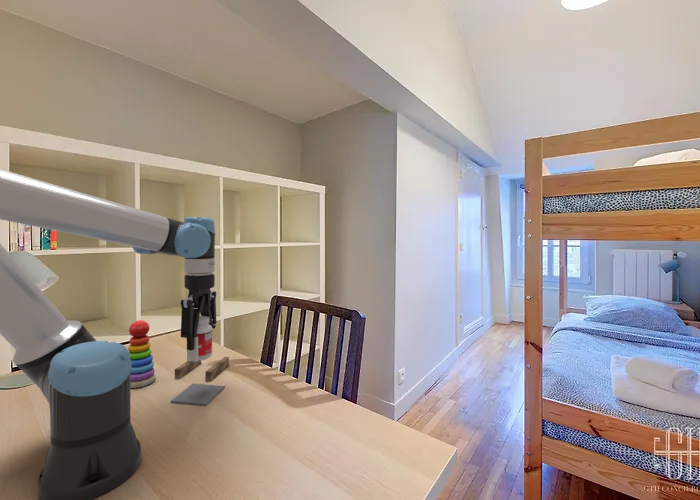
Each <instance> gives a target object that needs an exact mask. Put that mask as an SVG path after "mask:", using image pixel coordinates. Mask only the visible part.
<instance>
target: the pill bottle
mask: <svg viewBox="0 0 700 500" xmlns="http://www.w3.org/2000/svg"><path fill="white" fill-rule="evenodd" d="M208 323H209V317H207V316H201V315H200V316H199V322H198V328H197V334H196V337H198V361H201V362H202V361H205V360H208V359H209V358H211V357H212V355H213V328H212V326H211V325H209V324H208Z"/></svg>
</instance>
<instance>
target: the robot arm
mask: <svg viewBox="0 0 700 500" xmlns="http://www.w3.org/2000/svg"><path fill="white" fill-rule="evenodd" d="M0 220H2V221H7V222H12V223H17V224H20V225H21V224H22V225H27V226H31V227H34V228H35V227H36V228H41V229H46V230H51V231H54V232H55V231H56V232H61V233H66V234H70V235H74V236H75V235H76V236H80V237H84V238H90V239H95V240H100V241H104V242H109V243H113V244H114V243H115V244H119V245H124V246H128V247H129V246H130V247H132V250H133V251H134V252H135V253H136V254H139V255H140V254H141V255H142V254H143V255H153V254H154V255H155V254H157V255H158V254H159V255H167V256H174V257H181V258H184V265H183V267H184V270H183V272H184V273H185V275H184V289H187V290H188V295H187V298H186V299H181V300H180V306H181V317H180V319H181V321H180V338H185V339H186V352H187V353H186V362H187V361H194V362H197V361H198V337H196V334H197V328H198V322H199V316H207V317H209V323H208V324H209V325H211V326H212V330H213V329H214V330H215V329H216V327H217V326H216V324H217V304H216V303H217V301H216V300H217V299H216V298H217V291H213V290H211V289H212V288H215V283H216V282H215V279H216V278H215V274H214V273H215V265H216V261H215V255H216V254H215V252H216V250H215V248H216V247H215V246H216V245H215V244H216V243H215V242H216V241H215V240H216V238H215V237H216V229H215V221H214V219H213V218H211V217H204V216H203V217H201V216H200V217H199V216H198V217H197V216H186V217H185V218H184V220H183V221H180V220H177V219H173V218H168V217H166V216H163V215H160V214H157V213H153V212H150V211H145V210H142V209H139V208H135V207H133V206H128V205H125V204H122V203H119V202H115V201H112V200H109V199H105V198H102V197H97V196H95V195H91V194H87V193H84V192H81V191H78V190H74V189H71V188H69V187H68V188H67V187H63V186H60V185H58V184H57V185H56V184H54V183H50V182H47V181H43V180H39V179H36V178H33V177H29V176H27V175H24V174H23V175H22V174H19V173H16V172H13V171H9V170H6V169H2V168H0ZM0 336H2V337H3V338H4V339H5V340H6V341H7V343H8V344H10V345H11V346H12V347H13V348H14V349H15V352H14V355H13V359H12V362H13V363H14V365H15V366H17V367H18V369H20V370H21V372H23V373H24V374H25V376H27V378H29V379H30V380H31V381H32V382H33V383H34V384H35V385H36V386H37V387H38V388H39V390H40V391H41V392H42V394H43V396H44V398H45V399H46V401H47V402H48V405H49V406H48V407H49V419H50V420H49V421H50V423H49V424H50V432H49V434H50V446H49V449H48V450H47V451H48V452H47V454H46V457H45V460H44V464H43V468H42V469H41V470H40V472H39V475H38V478H37V498H38V499H39V500H93V499H94V498H97V497H100V496H102V495H104V494H106V493H108V492H109V491H112V490H113V489H115V488H117V487H118V486H120V485H121V484H122V483H124V482H125V481H126V480H127V479H129V478H130V477H131V476H132V475H133V474H134V473H135V472H136V470H138V468H139V466H140V464H141V463H142V444H141V442H140V440H139V439H138V438H137V435H136V432H135V429H134V427H133V424H132V422H131V421H132V420H131V394H132V393H131V389H132V388H131V367H132V364H131V360H130V354H129V350H128V347H127V346H125V345H123V344H122V343H119V342H115V341H110V342H108V341H106V340H97V339H96V338H94V336H93V335H92V334H91V332H90V331H89V330H88V329H87V328H86V326H84V325H83V323H82V322H81V321H79V320H68V319H67V318H65V316H64V315H63V314H62V313H61V311H59V309H58V308H57V307H56V306H55V305H54V304H53V302H52V301H51V300H50V298H48V297H47V296H46V294H45V293H44V292H43V291H42V290H41V288H40V287H39V286H38V285H37V284H36V283H35V282H34V280H33V279H32V278H31V277H30V276H29V274H28V273H27V272H26V271H25V270H24V268H22V267H21V266H20V264H19V263H18V262H17V261H16V260H15V258H14V257H13V256H12V255H11V254H10V253H9V252H8V250H7V249H6V248H5V247H4V246H3V245H2V243H0Z"/></svg>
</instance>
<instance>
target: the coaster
mask: <svg viewBox="0 0 700 500" xmlns="http://www.w3.org/2000/svg"><path fill="white" fill-rule="evenodd" d="M225 388H226V386H224V385H214V384H204V383H203V384H202V383H192V384H190V385H189V386H188V387H187V388H184V390H183V391H182V392H180V393H179V394H177V395H176V396H175V397H174V398H173V399H171V400H170V404H171V403H172V404H181V405H183V404H184V405H190V406H191V405H194V406H203V407H204V406H205V407H206V406H208V405H209V404H210V403H211V402H212V401H213V400H214V399H215V398H216V397H218V395H219V394H220V393H221V392H222V391H224V389H225Z"/></svg>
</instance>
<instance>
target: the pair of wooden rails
mask: <svg viewBox="0 0 700 500" xmlns="http://www.w3.org/2000/svg"><path fill="white" fill-rule="evenodd" d="M229 360H230V356H229V357H228V356H224V357H222V358H221V359H219V361H217V362H216V363H214V364H213V365H212V366H211V367H209V368H208V369H207V370H205V371H204V372H205V376H204V377H205V382H209V383H210V382H211V381H213V380H214V379H215V378H216V377H217V376H219V374H220V373H222V372H223V371H224V370H226V369H227V368H229V365H230V361H229ZM201 364H202V360H201V361H197V362H194V361H187V360H186V361H185V362H184V363H182V364H181V365H179V366H178V367H176V368H174V380H180V379H182V378H183V377H185V376H186V375H187V374H189V373H190V372H191V371H193V370H194V369H196V368H197V367H198V366H200V365H201Z"/></svg>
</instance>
